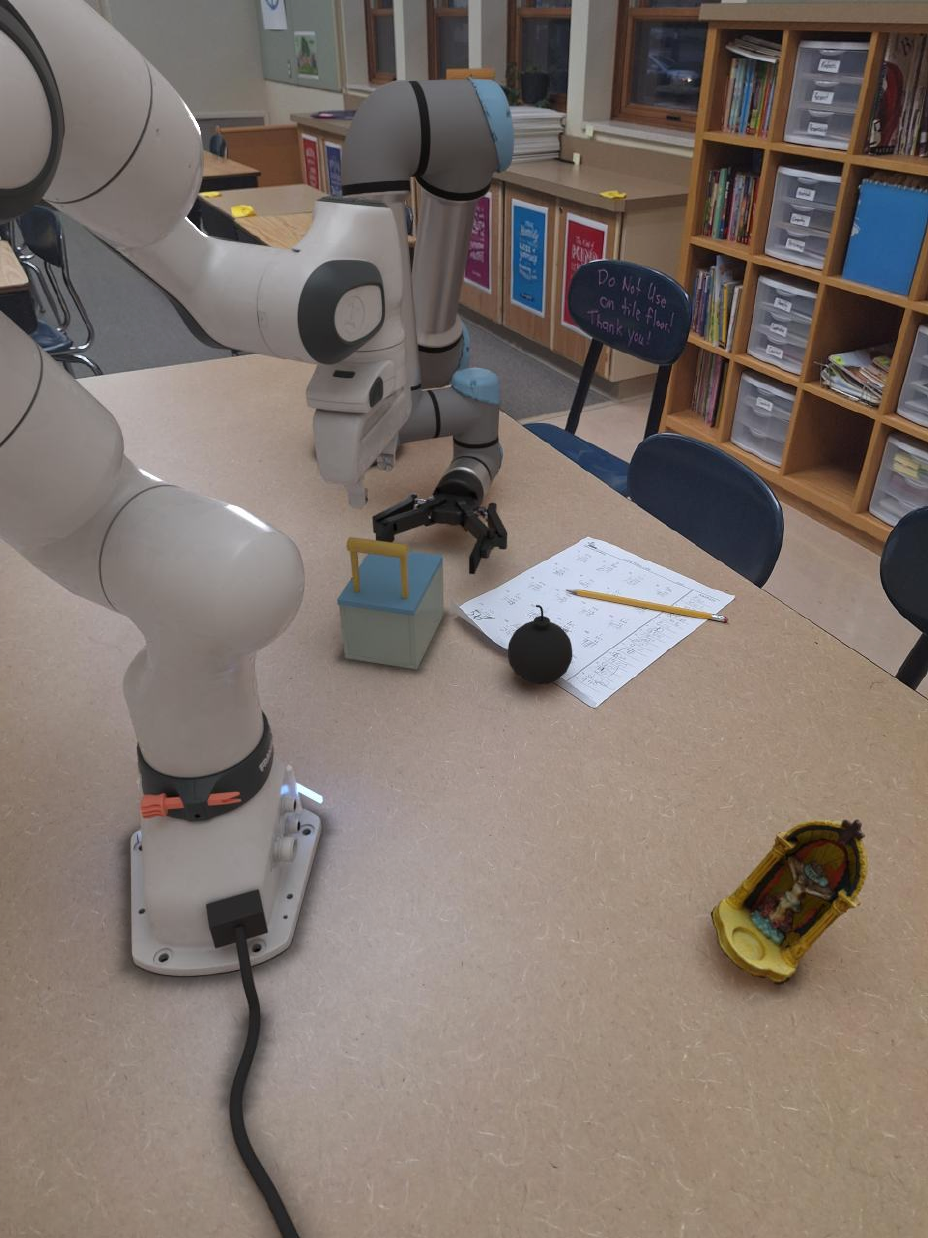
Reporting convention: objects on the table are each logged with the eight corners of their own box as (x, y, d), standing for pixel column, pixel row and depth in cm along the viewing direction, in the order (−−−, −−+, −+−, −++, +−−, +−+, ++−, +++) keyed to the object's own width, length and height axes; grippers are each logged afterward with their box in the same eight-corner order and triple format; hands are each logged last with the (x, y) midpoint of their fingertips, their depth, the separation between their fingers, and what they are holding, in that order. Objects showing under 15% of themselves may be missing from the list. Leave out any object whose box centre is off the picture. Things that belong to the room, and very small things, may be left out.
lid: (413, 616, 104) (410, 557, 99) (337, 604, 106) (331, 546, 101) (442, 560, 114) (441, 505, 109) (373, 551, 116) (369, 496, 111)
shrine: (791, 892, 81) (830, 781, 73) (851, 966, 75) (901, 853, 66) (686, 929, 78) (714, 817, 69) (739, 1009, 72) (776, 896, 63)
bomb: (524, 651, 112) (528, 573, 105) (580, 670, 109) (588, 591, 102) (495, 684, 106) (497, 604, 99) (553, 706, 103) (559, 625, 96)
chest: (416, 670, 109) (414, 614, 104) (344, 658, 111) (338, 603, 106) (444, 614, 119) (442, 560, 114) (377, 604, 121) (373, 551, 116)
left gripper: (369, 333, 98) (377, 446, 106) (297, 397, 82) (312, 524, 90) (422, 337, 97) (426, 451, 105) (360, 403, 81) (369, 532, 89)
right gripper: (538, 521, 135) (511, 594, 119) (387, 503, 140) (341, 570, 124) (540, 477, 131) (513, 547, 114) (384, 461, 136) (336, 525, 119)
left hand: (373, 486), depth 98 cm, fingers open, 8 cm apart
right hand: (423, 559), depth 119 cm, fingers open, 13 cm apart
